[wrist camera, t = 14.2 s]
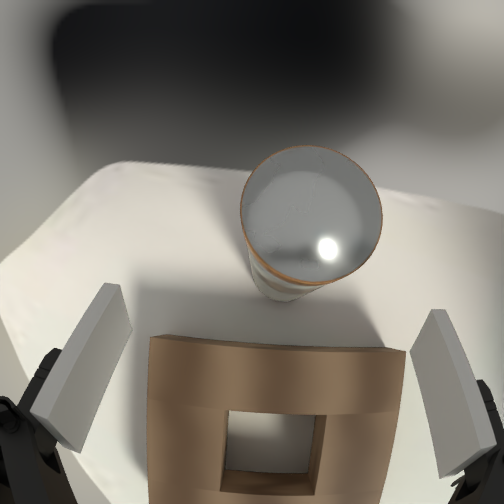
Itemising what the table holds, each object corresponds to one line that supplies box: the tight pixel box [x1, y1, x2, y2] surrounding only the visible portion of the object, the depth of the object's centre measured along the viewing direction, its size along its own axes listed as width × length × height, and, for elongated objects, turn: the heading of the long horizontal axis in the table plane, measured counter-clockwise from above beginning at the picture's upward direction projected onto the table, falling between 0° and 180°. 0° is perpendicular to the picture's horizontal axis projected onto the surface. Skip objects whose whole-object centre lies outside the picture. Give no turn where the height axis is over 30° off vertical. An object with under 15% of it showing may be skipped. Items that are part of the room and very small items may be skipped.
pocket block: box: [147, 334, 406, 504], centre depth 21 cm, size 18×16×4 cm
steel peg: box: [240, 145, 383, 302], centre depth 18 cm, size 5×5×15 cm
